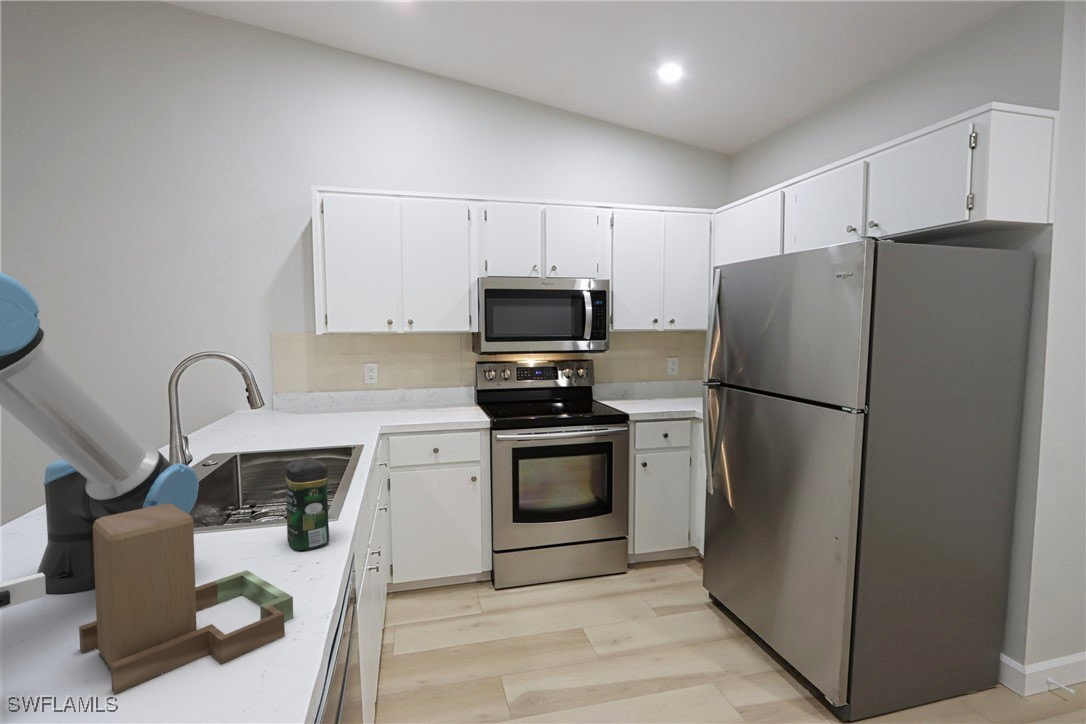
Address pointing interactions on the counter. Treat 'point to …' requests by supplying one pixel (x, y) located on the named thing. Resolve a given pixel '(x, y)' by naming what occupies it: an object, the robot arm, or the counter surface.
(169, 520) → the block
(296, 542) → the coffee jar
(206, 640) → the trap lane
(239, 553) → the counter surface
